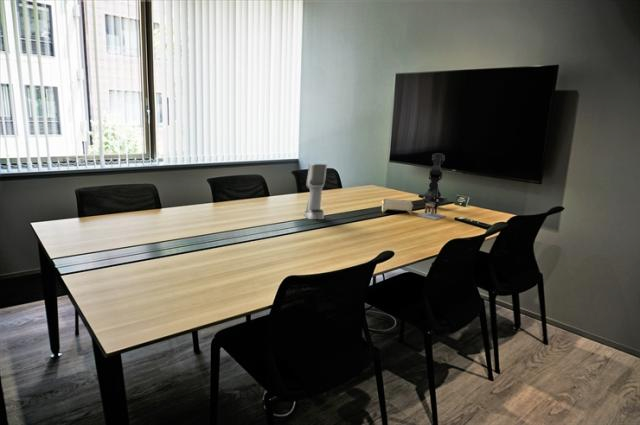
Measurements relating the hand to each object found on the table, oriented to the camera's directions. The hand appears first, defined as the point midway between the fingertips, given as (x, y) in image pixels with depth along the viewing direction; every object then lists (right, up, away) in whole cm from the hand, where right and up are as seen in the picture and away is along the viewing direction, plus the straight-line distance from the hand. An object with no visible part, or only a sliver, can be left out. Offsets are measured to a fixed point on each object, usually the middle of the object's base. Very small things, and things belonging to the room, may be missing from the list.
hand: (431, 209), depth 288 cm
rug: (0, -4, 0) cm, 4 cm away
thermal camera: (-80, -5, -18) cm, 82 cm away
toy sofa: (-23, -2, +6) cm, 24 cm away
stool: (0, -2, +1) cm, 3 cm away
